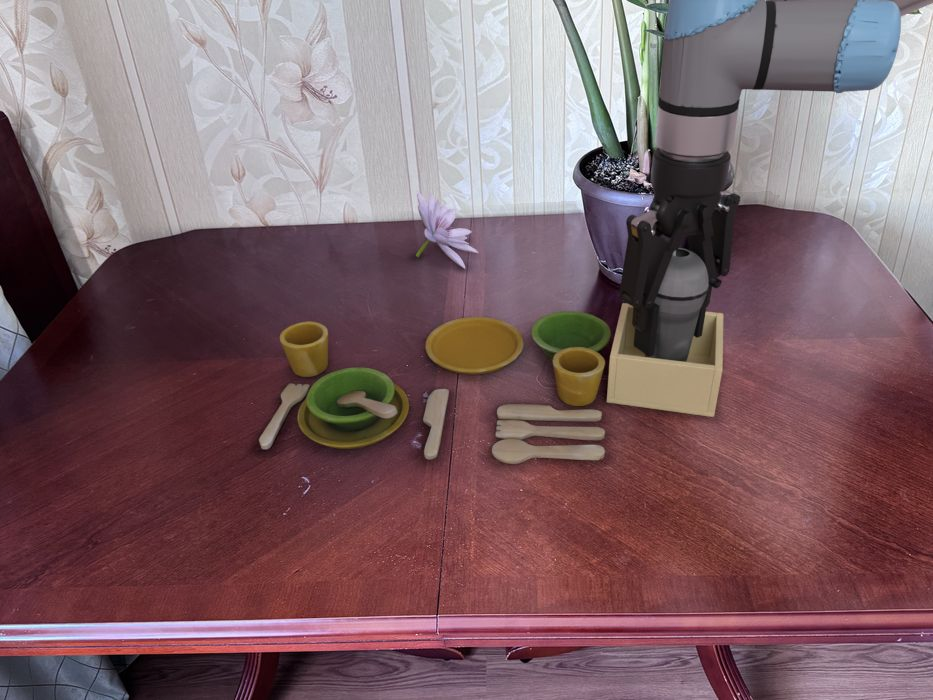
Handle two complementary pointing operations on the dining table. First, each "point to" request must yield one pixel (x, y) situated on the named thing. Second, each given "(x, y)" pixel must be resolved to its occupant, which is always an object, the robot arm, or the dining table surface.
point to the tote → (667, 371)
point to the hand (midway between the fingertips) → (667, 340)
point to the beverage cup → (679, 305)
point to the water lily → (442, 228)
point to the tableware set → (461, 351)
